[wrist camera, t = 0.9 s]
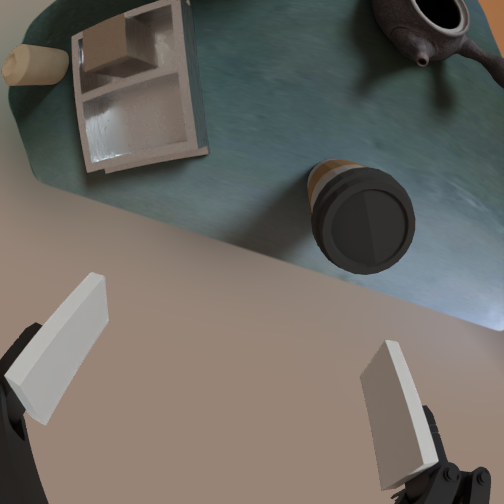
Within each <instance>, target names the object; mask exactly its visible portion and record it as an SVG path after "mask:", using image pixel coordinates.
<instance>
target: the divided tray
mask: <svg viewBox="0 0 504 504" xmlns="http://www.w3.org/2000/svg"><path fill="white" fill-rule="evenodd" d="M124 13H126V14H128V15H129V16H131V17H133V18H135V19H136V20H138V21H140V22H141V23H143V24H145V25H146V26H148V27H149V28H151V29H153V30H154V31H155V37H156V48H157V58H158V67H155V68H151V69H148V70H144V71H141V72H138V73H135V74H131V75H128V76H125V77H122V78H119V77H114V76H108V75H101V74H95V73H87V72H84V58H83V31H82V32H80V33H78V34H76V35H74V36H72V65H73V79H74V91H75V101H76V109H77V117H78V124H79V131H80V137H81V143H82V149H83V154H84V160H85V165H86V170H87V173H89V172H93V171H96V170H100V169H104V168H105V173H106V174H107V173H111V172H115V171H120V170H124V169H129V168H133V167H138V166H143V165H148V164H153V163H158V162H163V161H169V160H174V159H180V158H186V157H192V156H199V155H206V154H209V153H210V149H209V142H208V135H207V128H206V121H205V113H204V106H203V98H202V91H201V83H200V75H199V66H198V58H197V50H196V41H195V32H194V23H193V13H192V3H191V2H190V0H187V1H185V0H159V1H156V2H153V3H150V4H147V5H144V6H141V7H138V8H135V9H132V10H130V11H127V12H124ZM119 15H120V14H119ZM114 17H115V16H114ZM107 20H108V19H107ZM98 24H99V23H98Z"/></svg>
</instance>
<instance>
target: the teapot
mask: <svg viewBox="0 0 504 504" xmlns="http://www.w3.org/2000/svg"><path fill="white" fill-rule="evenodd" d="M372 10H373V13H374V16H375V18H376V21H377V23H378V25H379V26H380V28H381V29H382V31H383V32H384V33H385V35H386V36H387V37H388V38H389V39H390V40H391V41H392V42H393V43H394V44H395V45H396V47H397V49H398V50H399V52H400V53H401V54H402V55H404V56H405V57H407V58H409V59H410V60H414V61H416V63H417V65H419V66H421V67H426V66H427V64H428V62H429V60H430V61H440V60H444V59H447V58H449V57H450V56H452V55H453V54H457V53H458V54H460V55H462V56H464V57H467V58H470V59H473V60H476V61H478V62H479V63H481V64H482V65H483V66H484V67H485V68H486V69H487V71H488V72H489V73H490V74H491V76H492V77H493V79H494V80H495V81H496V82H497V83H498V84H499V85H500V86H501V87H502V88H504V58H502V57H498V56H495V55H492V54H489V53H487V52H485V51H484V50H482V49H481V48H480V47H479V46H478V45H476V43H475V42H474V41H472V40H471V39H470V38H469V37H467V36H466V33H467V31H468V29H469V27H470V14H469V11H468V9H467V6H466V4H465V2H464V1H463V0H372Z"/></svg>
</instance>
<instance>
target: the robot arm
mask: <svg viewBox="0 0 504 504" xmlns="http://www.w3.org/2000/svg"><path fill="white" fill-rule="evenodd" d="M108 322H109V319H108V310H107V298H106V285H105V277H104V276H102V275H99V274H96V273H93V272H91V273H90V274H89V275H88V276H87V277H86V278H85V279H84V280H83V281H82V282H81V283H80V284H79V285H78V286H77V288H76V289H75V290H74V291H73V292H72V293H71V294H70V295H69V296H68V297H67V298H66V300H65V301H64V302H63V303H62V304H61V305H60V306H59V307H58V309H57V310H56V311H55V312H54V313H53V314H52V316H51V317H50V318H49V319H48V320H47V321H46V323H45V324H44V325H43V326H42V325H40V324H38V323H34V324H32V325H31V326H29V327H27V328H26V329H25V330H24V331H23V333H22V334H21V335H20V336H19V338H18V339H17V340H16V341H15V342H14V344H13V345H12V346H11V347H10V348H9V350H8V351H7V352H6V353H5V354H4V356H3V357H2V358H1V360H0V504H48V501H47V498H46V495H45V493H44V490H43V487H42V484H41V481H40V478H39V475H38V472H37V469H36V465H35V462H34V458H33V454H32V451H31V447H30V442H29V439H28V434H27V429H26V424H25V419H24V416H23V414H24V412H25V410H26V411H27V412H28V414H29V415H30V417H32V418H33V419H35V420H36V421H38V422H40V423H42V424H43V425H45V426H46V424H47V422H48V420H49V419H50V417H51V415H52V413H53V411H54V410H55V408H56V406H57V404H58V402H59V401H60V399H61V397H62V395H63V394H64V392H65V390H66V389H67V387H68V385H69V383H70V382H71V380H72V378H73V377H74V375H75V373H76V372H77V370H78V368H79V367H80V365H81V364H82V362H83V360H84V359H85V357H86V356H87V354H88V352H89V351H90V349H91V348H92V346H93V345H94V343H95V342H96V340H97V338H98V337H99V335H100V334H101V332H102V331H103V329H104V328H105V326H106V324H107V323H108ZM360 379H361V384H362V388H363V393H364V397H365V402H366V407H367V411H368V416H369V421H370V426H371V432H372V437H373V442H374V448H375V454H376V460H377V465H378V472H379V479H380V486H381V491H382V490H390V489H396V488H397V487H399V486H401V485H403V484H405V489H403V490H401V491H399V492H398V493H396V494H394V495H393V496H392V497H391V499H393V498H395V497H397V496H399V497H398V498H397V499H396V500H395V501H396V502H395V504H489V499H490V488H491V476H490V473H489V471H488V470H487V469H486V468H484V467H479V468H477V469H475V470H474V471H472V472H464V471H460V470H459V468H458V467H457V466H456V465H455V464H453V463H451V462H448V460H447V458H446V455H445V451H444V448H443V444H442V441H441V438H440V434H439V433H438V428H437V426H436V422H435V419H434V416H433V414H432V412H431V411H430V410H429V408H428V407H427V406H422V405H421V402H420V399H419V396H418V393H417V390H416V388H415V385H414V382H413V380H412V377H411V374H410V372H409V369H408V366H407V364H406V361H405V359H404V357H403V354H402V351H401V349H400V346H399V344H398V342H396V341H389V340H385V341H384V342H383V344H382V345H381V347H380V348H379V350H378V351H377V353H376V354H375V356H374V357H373V359H372V360H371V362H370V363H369V364H368V366H367V367H366V369H365V370H364V372H363V373H362V374H361V376H360Z"/></svg>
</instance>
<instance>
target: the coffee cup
mask: <svg viewBox="0 0 504 504" xmlns="http://www.w3.org/2000/svg"><path fill="white" fill-rule="evenodd" d="M307 188H308V197H309V204H310V210H311V215H312V217H311V224H312V232H313V235H314V238H315V240H316V242H317V245H318V246H319V247H320V250H321V251H322V252H323V254H324V255H325V256H326V257H327V259H328V260H329V261H331V262H332V263H333V264H335V265H336V266H338V267H339V268H342V269H344V270H346V271H348V272H351V273H354V274H362V275H368V274H374V273H379V272H381V271H383V270H386V269H388V268H390V267H391V266H393V265H394V264H395V263H397V262H398V261H399V260H400V259H401V258H402V257H403V255H404V254H405V253H406V252H407V250H408V248H409V246H410V244H411V242H412V239H413V236H414V232H415V215H414V211H413V207H412V203H411V199H410V198H409V196H408V194H407V192H406V191H405V189H404V188H403V187H402V186H401V185H400V184H399V183H398V182H397V181H396V180H395V179H394V178H393V177H392V176H391V175H389V174H387V173H385V172H383V171H381V170H379V169H374V168H369V167H365V166H363V165H360V164H357V163H354V162H351V161H347V160H342V159H336V158H333V159H327V160H324V161H322V162H320V163H319V164H317V165H316V166H315V167H314V168H313V169H312V171H311V172H310V175H309V177H308V183H307Z"/></svg>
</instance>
